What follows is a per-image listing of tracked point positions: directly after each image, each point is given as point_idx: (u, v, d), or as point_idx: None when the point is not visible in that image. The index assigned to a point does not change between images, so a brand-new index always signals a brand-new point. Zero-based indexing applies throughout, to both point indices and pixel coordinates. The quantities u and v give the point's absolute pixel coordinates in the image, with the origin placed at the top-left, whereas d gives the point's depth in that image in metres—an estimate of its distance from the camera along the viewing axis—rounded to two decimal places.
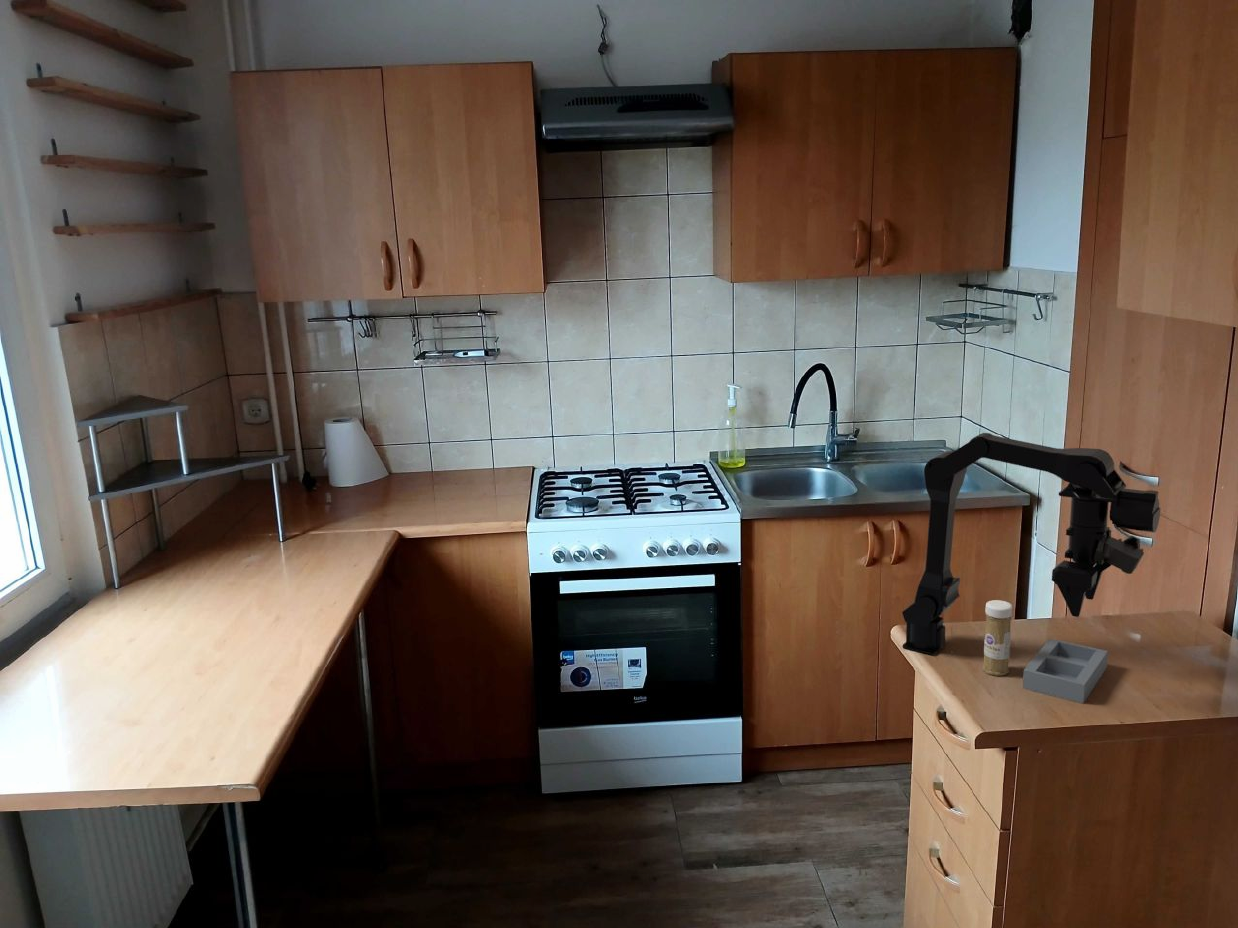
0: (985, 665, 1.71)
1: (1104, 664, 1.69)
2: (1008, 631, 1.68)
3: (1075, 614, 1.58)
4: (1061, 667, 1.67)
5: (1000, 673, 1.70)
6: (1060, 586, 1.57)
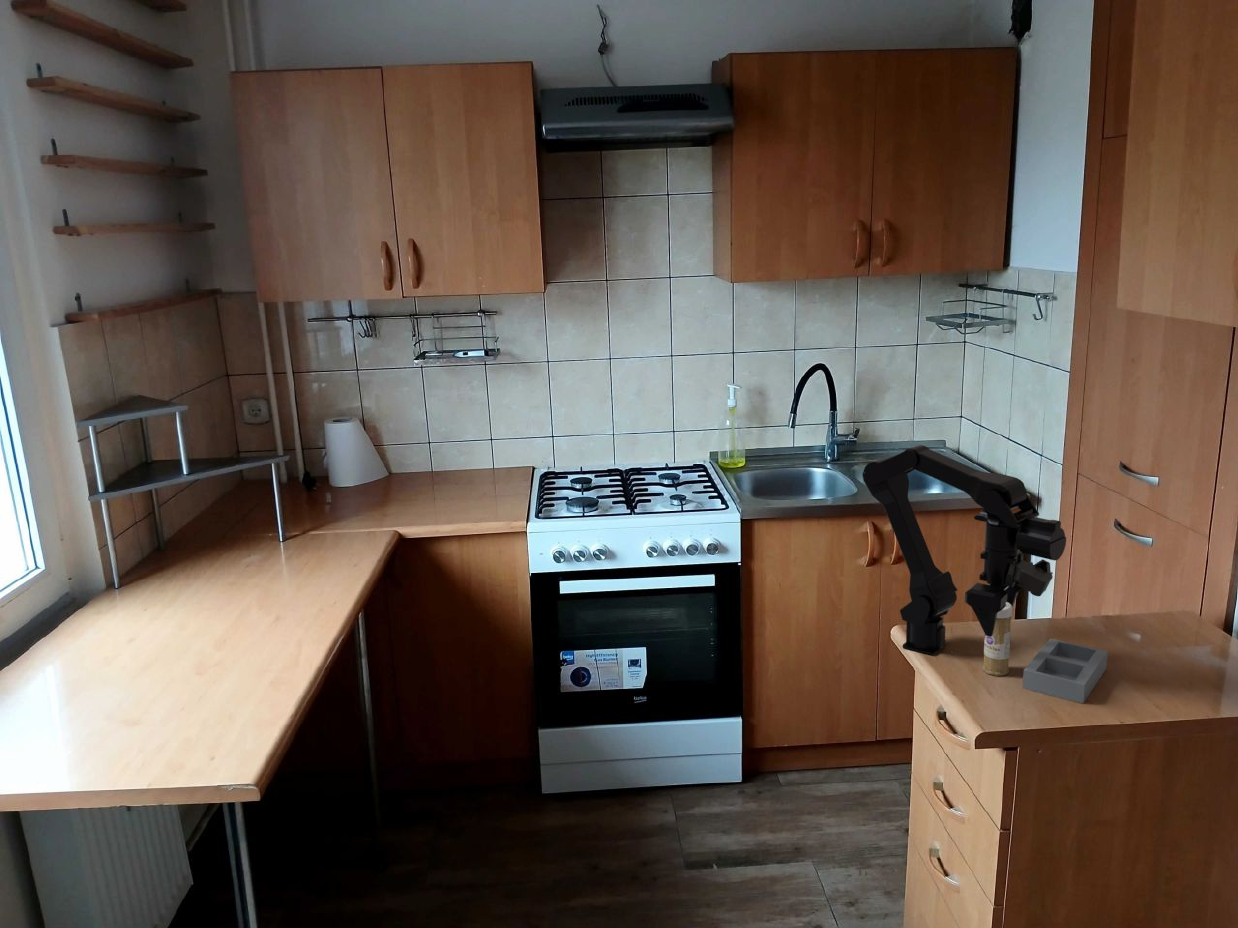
0: (985, 665, 1.71)
1: (1104, 664, 1.69)
2: (1008, 631, 1.68)
3: (988, 634, 1.66)
4: (1061, 667, 1.67)
5: (1000, 673, 1.70)
6: (973, 607, 1.65)
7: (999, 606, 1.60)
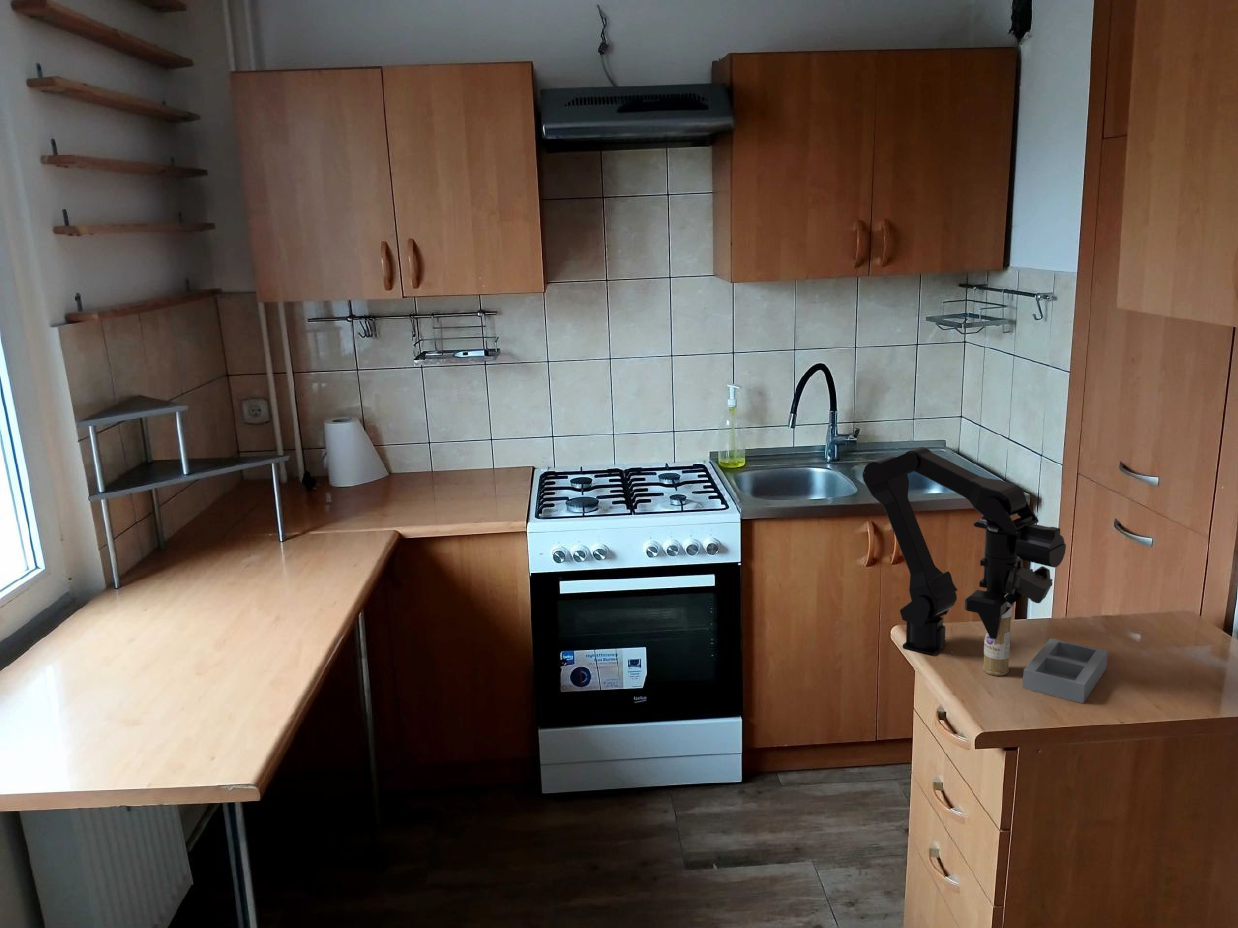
0: (985, 665, 1.71)
1: (1104, 664, 1.69)
2: (1008, 631, 1.68)
3: (993, 636, 1.68)
4: (1061, 667, 1.67)
5: (1000, 673, 1.70)
6: None
7: (999, 613, 1.60)
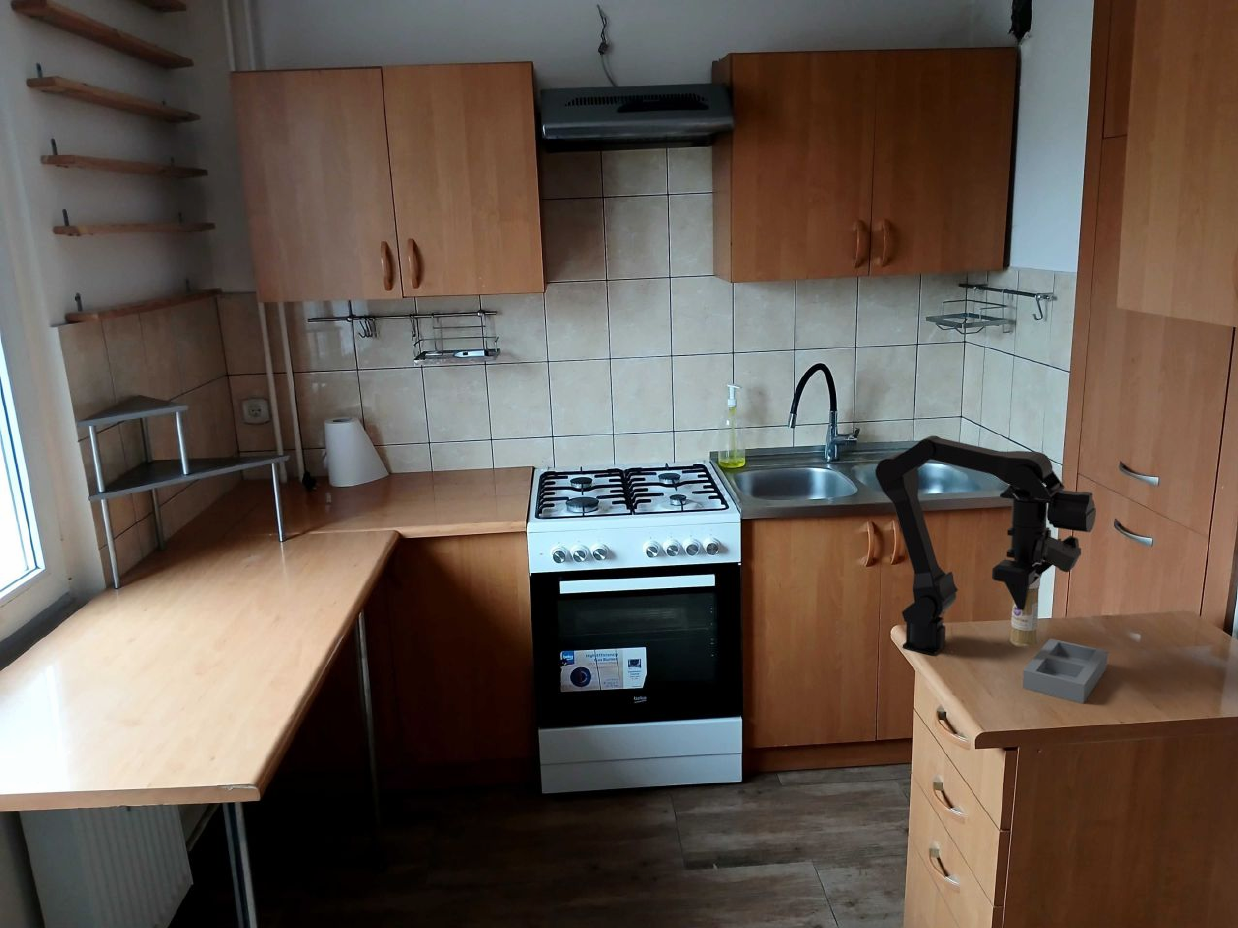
0: (1012, 637, 1.69)
1: (1104, 664, 1.69)
2: (1036, 602, 1.66)
3: (1020, 607, 1.66)
4: (1061, 667, 1.67)
5: (1028, 645, 1.68)
6: None
7: (1027, 582, 1.58)
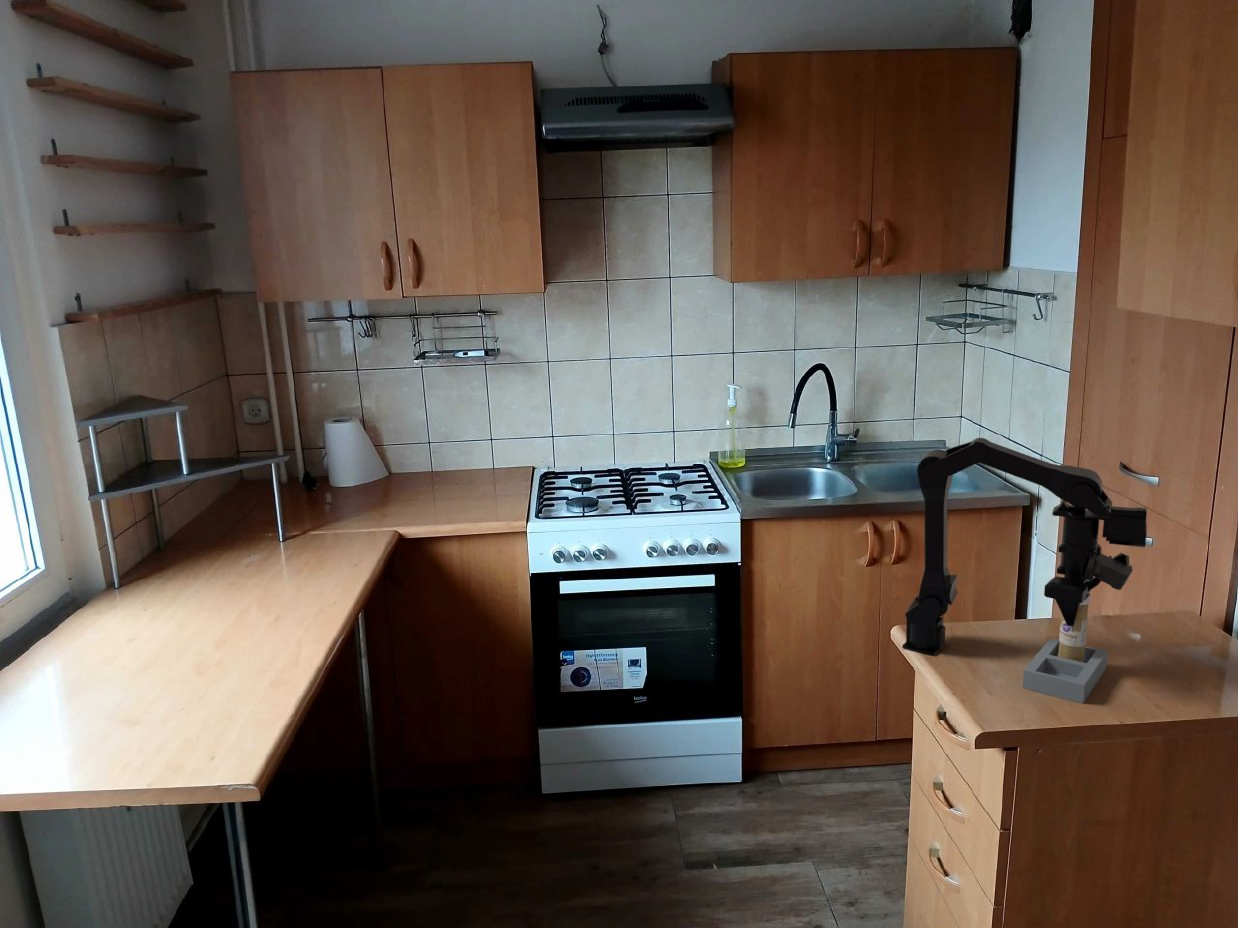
0: (1060, 653, 1.70)
1: (1104, 664, 1.69)
2: (1085, 618, 1.67)
3: (1070, 623, 1.67)
4: (1061, 667, 1.67)
5: None
6: None
7: (1081, 599, 1.58)
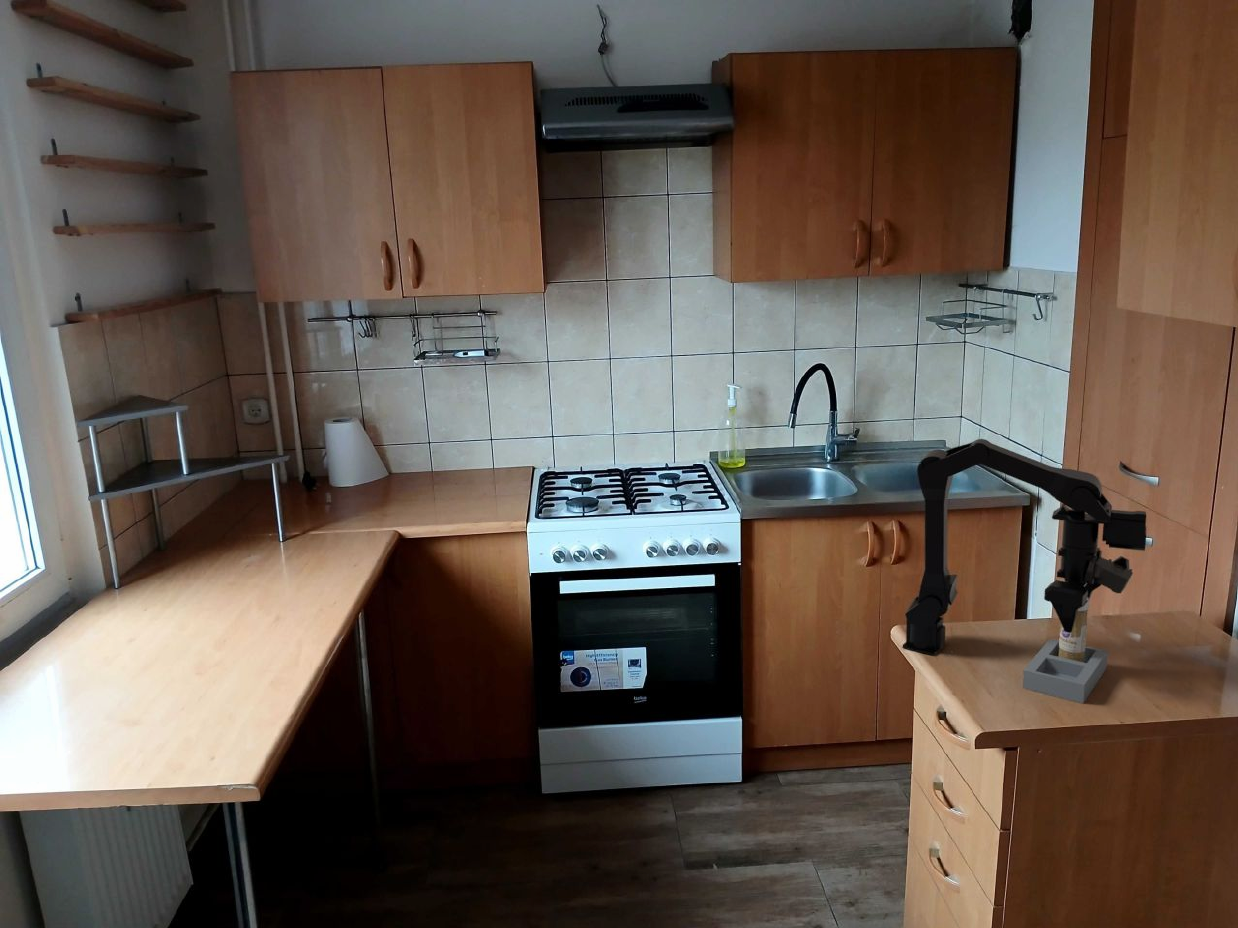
0: None
1: (1104, 664, 1.69)
2: (1085, 624, 1.67)
3: (1068, 630, 1.66)
4: (1061, 667, 1.67)
5: None
6: (1053, 603, 1.64)
7: (1081, 603, 1.58)
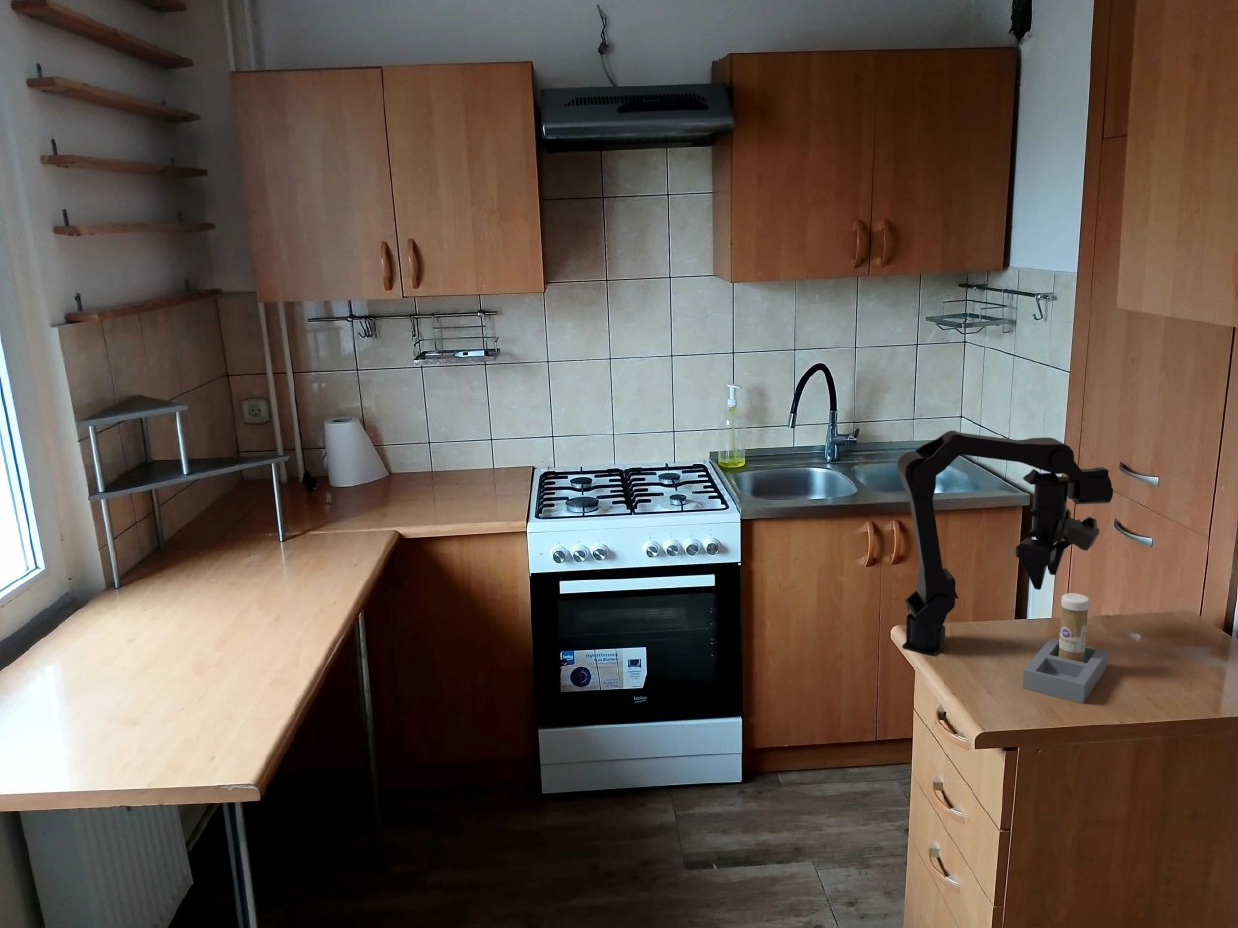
0: None
1: (1104, 664, 1.69)
2: (1085, 624, 1.67)
3: (1037, 587, 1.75)
4: (1061, 667, 1.67)
5: None
6: (1023, 561, 1.74)
7: (1049, 559, 1.69)
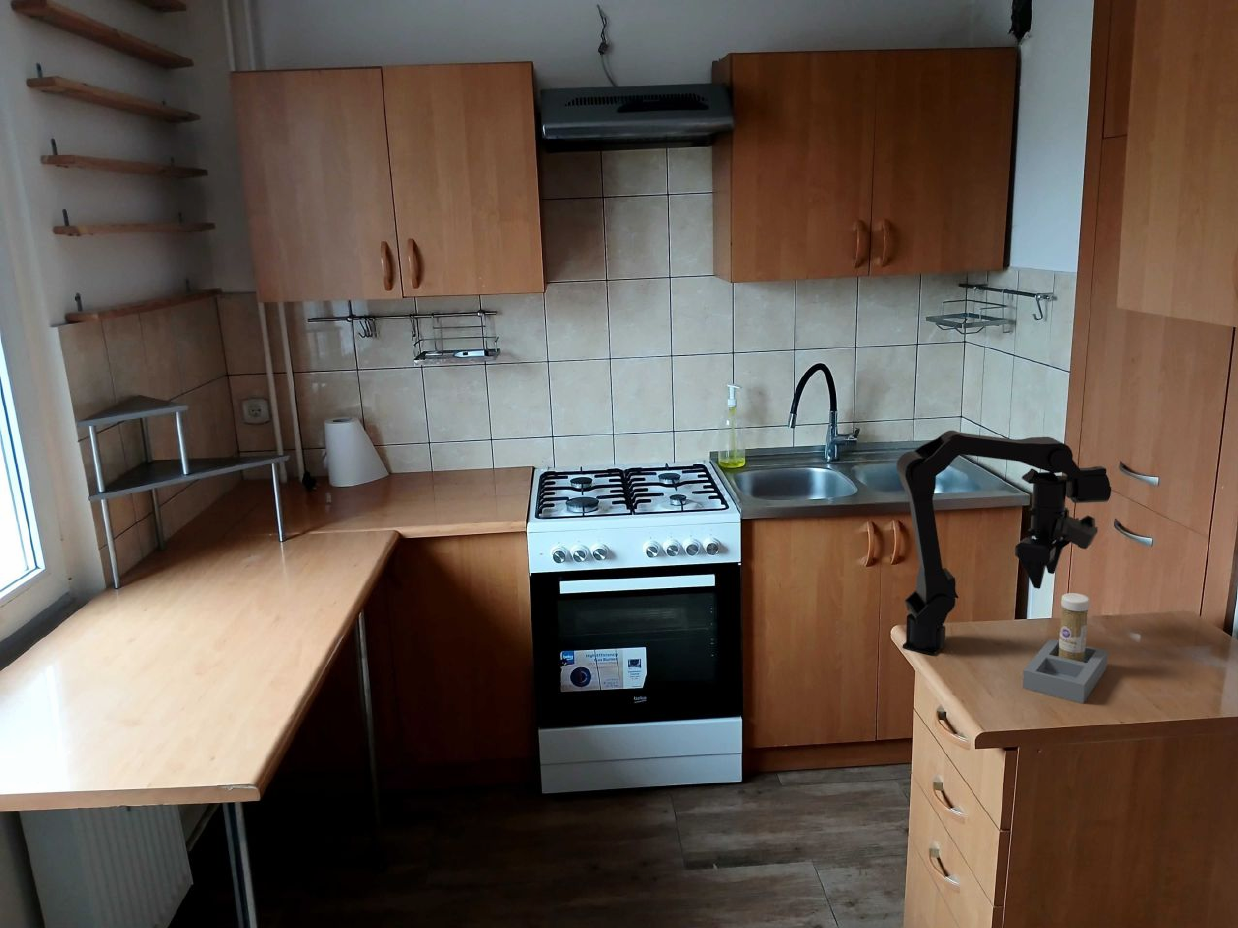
0: None
1: (1104, 664, 1.69)
2: (1085, 624, 1.67)
3: (1036, 586, 1.76)
4: (1061, 667, 1.67)
5: None
6: (1023, 561, 1.75)
7: (1048, 558, 1.69)
